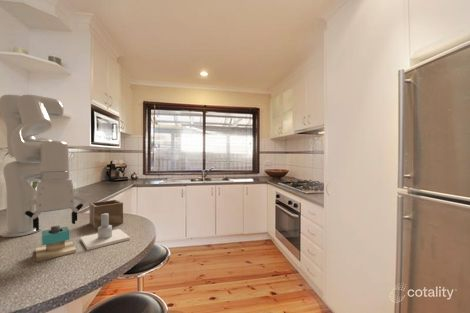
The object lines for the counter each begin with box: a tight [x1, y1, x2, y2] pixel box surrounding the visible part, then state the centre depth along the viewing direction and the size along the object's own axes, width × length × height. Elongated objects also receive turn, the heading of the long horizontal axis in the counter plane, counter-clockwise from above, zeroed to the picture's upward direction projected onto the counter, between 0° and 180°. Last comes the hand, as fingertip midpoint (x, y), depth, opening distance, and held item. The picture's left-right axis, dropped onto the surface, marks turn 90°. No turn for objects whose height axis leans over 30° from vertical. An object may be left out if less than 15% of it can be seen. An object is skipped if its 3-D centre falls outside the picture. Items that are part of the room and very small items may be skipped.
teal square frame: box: [41, 226, 71, 246], centre depth 75 cm, size 7×7×3 cm
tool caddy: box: [89, 199, 124, 229], centre depth 108 cm, size 12×12×10 cm
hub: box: [80, 213, 131, 251], centre depth 85 cm, size 14×14×10 cm
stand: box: [35, 225, 77, 263], centre depth 75 cm, size 12×10×8 cm
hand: (56, 226), depth 75 cm, fingers open, 9 cm apart
